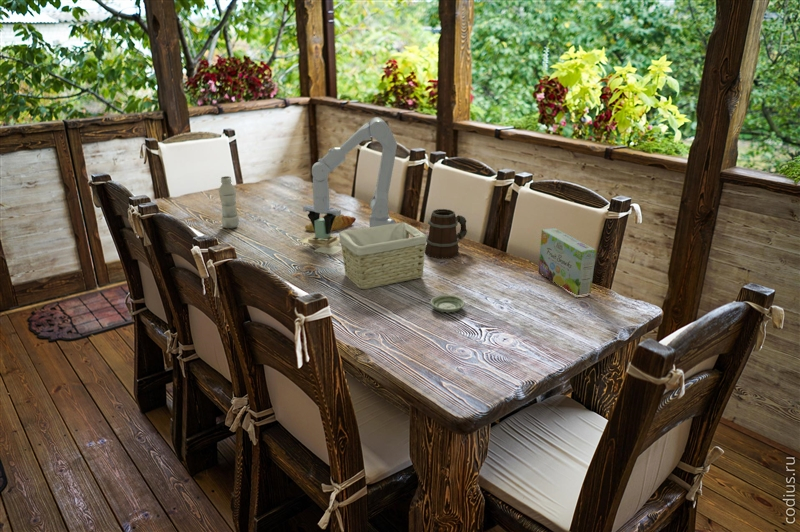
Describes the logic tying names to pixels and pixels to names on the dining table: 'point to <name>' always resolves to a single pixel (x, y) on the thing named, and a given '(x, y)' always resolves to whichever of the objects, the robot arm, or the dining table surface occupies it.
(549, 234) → the snack box
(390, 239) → the storage basket
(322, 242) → the pocket board
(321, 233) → the block
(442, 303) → the saucer
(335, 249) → the coaster
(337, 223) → the croissant
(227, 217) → the plastic bottle
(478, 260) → the dining table surface
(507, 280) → the dining table surface
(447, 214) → the mug
